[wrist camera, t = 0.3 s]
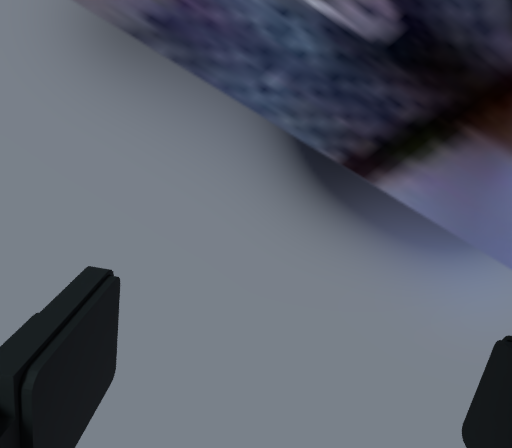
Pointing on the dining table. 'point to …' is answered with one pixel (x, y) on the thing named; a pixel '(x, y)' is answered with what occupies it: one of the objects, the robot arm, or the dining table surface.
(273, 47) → the dining table surface
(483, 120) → the dining table surface
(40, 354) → the robot arm
